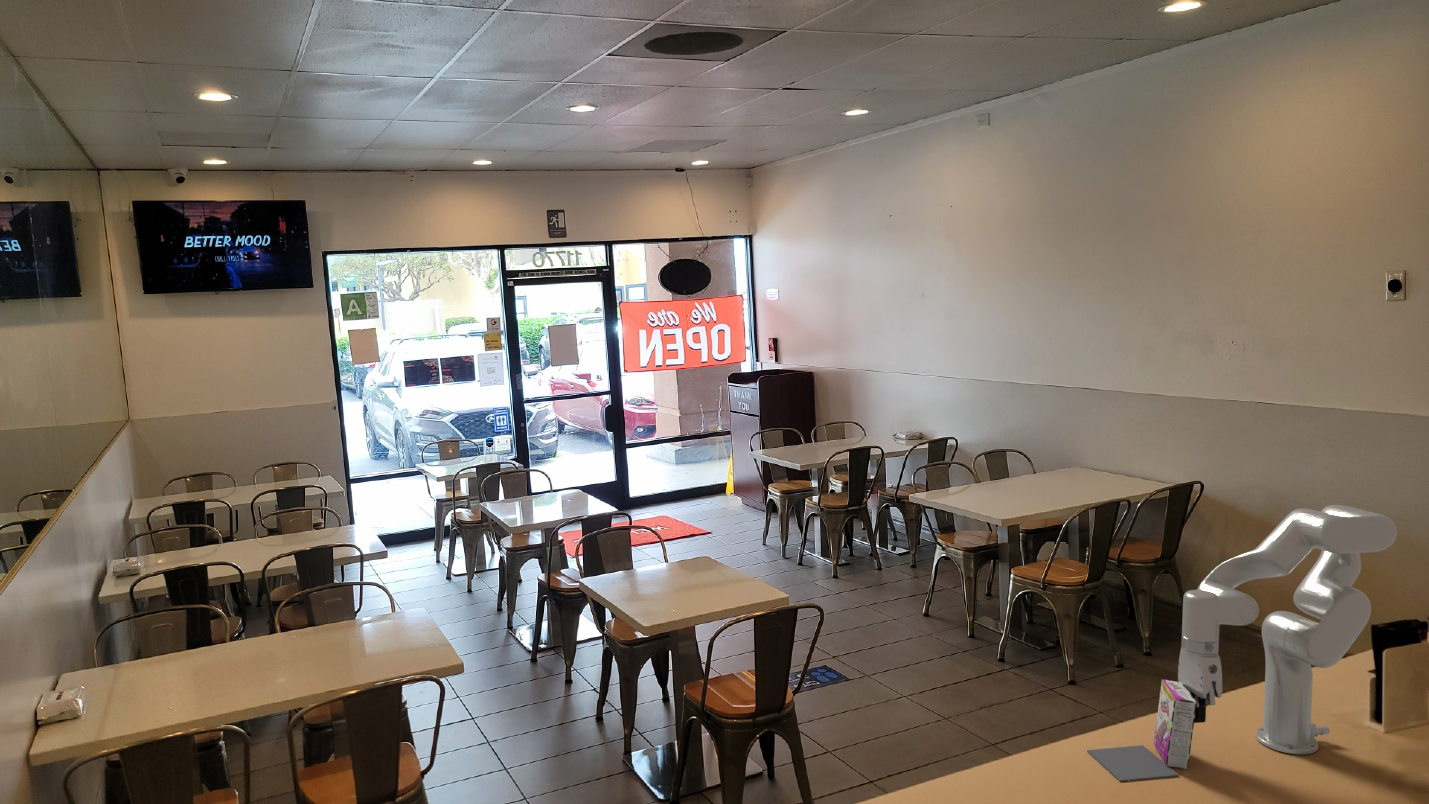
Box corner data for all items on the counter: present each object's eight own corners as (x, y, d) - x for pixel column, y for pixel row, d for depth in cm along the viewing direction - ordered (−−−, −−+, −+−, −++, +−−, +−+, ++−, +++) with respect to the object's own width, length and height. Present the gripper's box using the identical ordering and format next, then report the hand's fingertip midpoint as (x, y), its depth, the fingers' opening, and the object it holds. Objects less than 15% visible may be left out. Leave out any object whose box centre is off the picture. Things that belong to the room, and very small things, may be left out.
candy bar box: (1151, 743, 218) (1160, 678, 216) (1174, 747, 217) (1183, 681, 215) (1164, 766, 207) (1174, 698, 205) (1188, 770, 206) (1198, 701, 204)
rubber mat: (1142, 746, 218) (1142, 745, 218) (1178, 776, 204) (1178, 774, 204) (1087, 751, 216) (1087, 750, 216) (1119, 781, 202) (1119, 780, 202)
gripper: (1237, 655, 203) (1233, 734, 205) (1194, 632, 218) (1191, 706, 220) (1205, 657, 202) (1202, 737, 204) (1165, 634, 217) (1162, 708, 219)
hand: (1196, 721), depth 212 cm, fingers closed
